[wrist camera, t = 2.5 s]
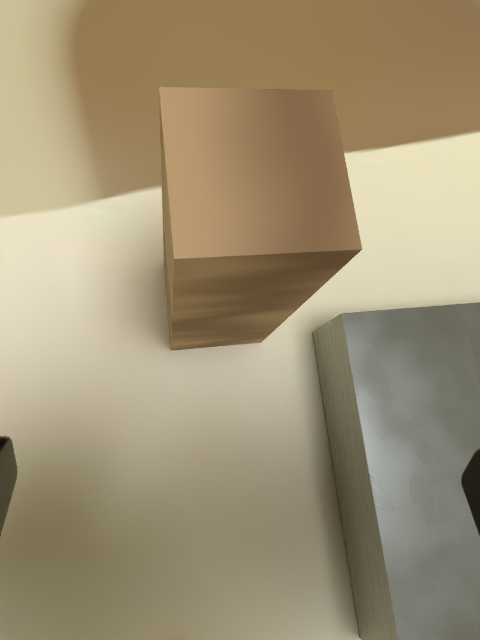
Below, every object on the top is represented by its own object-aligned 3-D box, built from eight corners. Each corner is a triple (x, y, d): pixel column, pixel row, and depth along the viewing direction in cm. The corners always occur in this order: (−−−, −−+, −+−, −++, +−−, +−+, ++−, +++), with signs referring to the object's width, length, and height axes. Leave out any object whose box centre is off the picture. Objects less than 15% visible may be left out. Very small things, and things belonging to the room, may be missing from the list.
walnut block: (171, 350, 21) (173, 258, 10) (164, 263, 22) (158, 87, 11) (261, 342, 22) (361, 249, 10) (250, 259, 23) (331, 90, 11)
